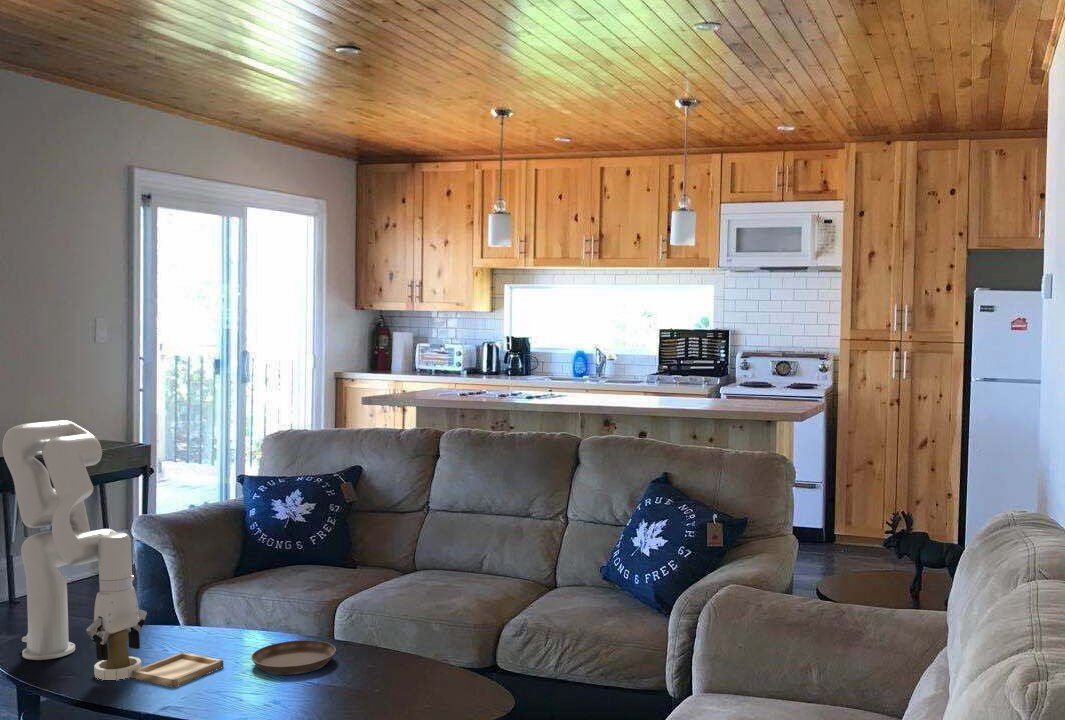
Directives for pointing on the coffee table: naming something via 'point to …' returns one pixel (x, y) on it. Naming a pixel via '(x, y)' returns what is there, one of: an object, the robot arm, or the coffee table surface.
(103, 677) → the holder ring
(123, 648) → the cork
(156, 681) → the tray
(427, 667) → the coffee table surface
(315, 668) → the plant saucer
